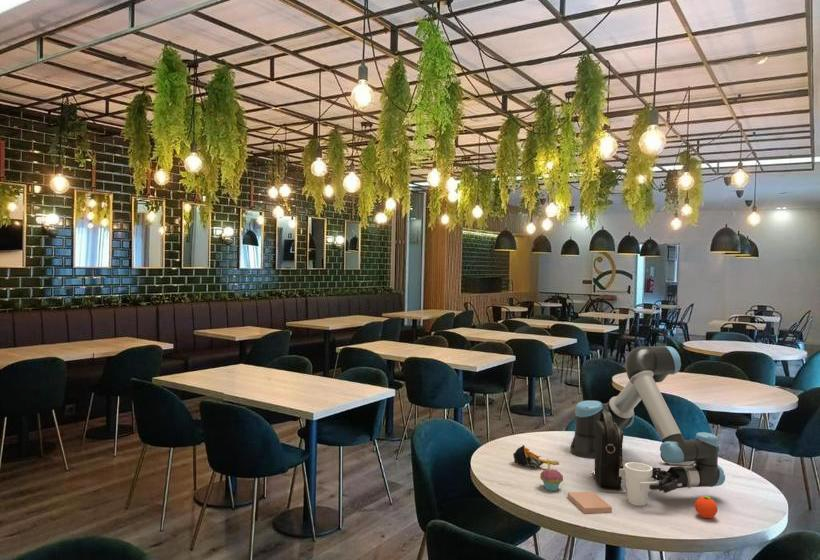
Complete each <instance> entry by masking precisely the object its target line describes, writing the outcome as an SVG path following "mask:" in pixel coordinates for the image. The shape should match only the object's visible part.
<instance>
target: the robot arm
mask: <svg viewBox="0 0 820 560" xmlns="http://www.w3.org/2000/svg"><path fill="white" fill-rule="evenodd" d="M681 367H682V362H681V356H680V353H679V352H678V351H677V350H676V348H674V347H672V346H667V345H654V346H650V345H649V346H648V345H647V346H643V345H642V346H641V345H640V346H637V347H635V348H633V349H632V350H631V351H630V352H629V353H628V355H627V357H626V359H625V371H626V375H627V379H628V380H629V381H628V382H627V384H625V386H624V387H623V388H622V390H621V391H620V392H619V394H617V395H616V396H615V395H614V396H612V397H611V398H610V399H609V401H608V402H606V403H602V402H601V401H600V400H582V401H579V402H578V403H577V404H576V405H575V411H574V415H575V416H574V436H573V438H572V440H571V444H570V448H569V449H570V451H569V452H570V453H571V454H573V455H575V456H577V457H582V458H586V459H595V436H596V422H597V421H600V415H601V412H602V411H607V412H610V413H611V416H612V420H613V422H615V423H616V424H617V426H618V427H619V428H620V429H621V430H623V429H627V428H629V427H631V426H633V425H632V424H633V423H634V422H635V421H634V420H635V411H634V409H635V407H637V406H638V404H639V403H640V402H641V401H642V403H643V405H644V407H645V409H646V410H647V413H648V415H649V417H650V419H651V422H652V423H653V426H654V428H655V430H656V432H657V434H658V436H659V438H660V440H661V444H660V447H659V451H660V454H661V456H662V458H663V459H664V460H665V461H666V462H669V463H681V462H689V461H695V464H694V465H692V466H671V467H669V468H668V470H667V471H666V470H662V468H660V467H652V468H653V473H652V477H651V479H653V480H655V481H651V482H640V491H648V490H649V491H657V490H658V491H660V492H663V493H665V494H667V493H670V492H672V491H676V490H677V489H684V488H687V489H691V488H708V487H709V488H713V487H719V486H722V485H723V484H724V483H725V481H726V475H725V471H724V469H723V467H721V466H720V465H718V463H719V462H718V461H719V460H718V459H719V447H720V446H719V438H718V436H717V435H715V434H714V433H712V432H711V433H710V432H704V431H703V432H702V431H700V432H699V431H698V432H696V434H695V438H694V439H685V438H684V436H683V434H682V432H681V430H680V428H679V427H678V424H677V422H676V420H675V419H674V417H673V414H672V413H671V410H670V408H669V406H668V405H667V404H668V403H666V401H665V399H664V397H663V394H662V393H661V391H660V389H659V386H658V385H657V383H662V382H664V381H665V379H666V377H668V376H669V375H675V374H678V372H680V370H681ZM661 456H660V457H661ZM662 458H661V459H662ZM624 469H625V468H624ZM624 469H619V476H620V477H622V478H623V477H625V471H624Z"/></svg>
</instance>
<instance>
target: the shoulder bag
mask: <svg viewBox="0 0 820 560" xmlns="http://www.w3.org/2000/svg"><path fill="white" fill-rule="evenodd" d="M623 442H624V432H623V430H622V429H620V428H619V427H618V426H617V424H616V423H615V422H613V420H612V416H611V413H610V412H607V411H602V412H601V415H600V421H597V422H596V436H595V458H594V471H595V474H594V472H593V473H590V475H591V477H592V479H593V480H594V482H595V484H596V486H597V488H598V490H599V492H606V493H620V494H626V493H625V491H624V489H623V488H622V480H623V477H620V476H619V469H625V467H624V463H623Z"/></svg>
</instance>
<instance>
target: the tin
mask: <svg viewBox="0 0 820 560" xmlns="http://www.w3.org/2000/svg"><path fill="white" fill-rule="evenodd" d="M659 456H660V458H661V460H662V461H663V462H664V463H665V464H667V465H669V466H676V467H678V466H680V467H681V466H695V461H689V462H681V463H669V462H666V461H665V460H664V459H663V458H662V456H661V454H660V455H659Z"/></svg>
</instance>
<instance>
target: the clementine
mask: <svg viewBox="0 0 820 560" xmlns="http://www.w3.org/2000/svg"><path fill="white" fill-rule="evenodd" d="M694 509H695V512H696V514H698V515H699V516H700V517H702V518H703V519H711V518H714V517H715V516H716V515H717V513H718V506H717V503H716V501H714V499H712V497H711V496H708V495H706V496H701V497H698V498H697V499H696V501H695V503H694Z"/></svg>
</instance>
